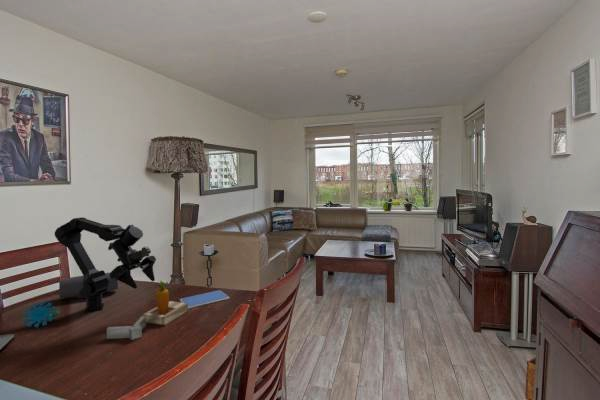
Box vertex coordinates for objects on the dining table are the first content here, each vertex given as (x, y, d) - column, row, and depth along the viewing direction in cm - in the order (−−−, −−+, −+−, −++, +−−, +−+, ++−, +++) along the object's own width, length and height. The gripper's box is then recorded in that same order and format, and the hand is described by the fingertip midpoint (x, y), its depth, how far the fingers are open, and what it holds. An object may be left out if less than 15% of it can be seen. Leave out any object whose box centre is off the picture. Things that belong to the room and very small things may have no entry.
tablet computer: (187, 310, 136) (187, 307, 136) (179, 301, 146) (178, 298, 146) (230, 300, 147) (230, 297, 147) (219, 292, 157) (219, 289, 157)
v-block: (105, 337, 111) (105, 328, 111) (144, 324, 122) (144, 315, 121) (116, 346, 106) (115, 335, 105) (156, 331, 116) (155, 321, 116)
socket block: (143, 321, 124) (143, 314, 123) (167, 307, 137) (167, 300, 137) (165, 325, 121) (164, 317, 121) (187, 310, 134) (187, 303, 134)
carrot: (158, 315, 129) (157, 279, 128) (171, 315, 130) (170, 278, 129) (154, 321, 124) (153, 283, 123) (167, 320, 125) (166, 282, 124)
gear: (18, 327, 116) (26, 301, 122) (20, 333, 120) (28, 308, 126) (56, 324, 121) (62, 300, 127) (57, 331, 125) (62, 306, 131)
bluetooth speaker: (117, 288, 162) (117, 268, 161) (118, 294, 154) (117, 273, 153) (62, 296, 150) (61, 276, 150) (59, 303, 142) (58, 281, 142)
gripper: (117, 245, 118) (139, 280, 116) (154, 236, 136) (174, 267, 134) (99, 262, 122) (121, 296, 119) (138, 251, 139) (157, 281, 137)
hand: (145, 284), depth 127 cm, fingers open, 9 cm apart
